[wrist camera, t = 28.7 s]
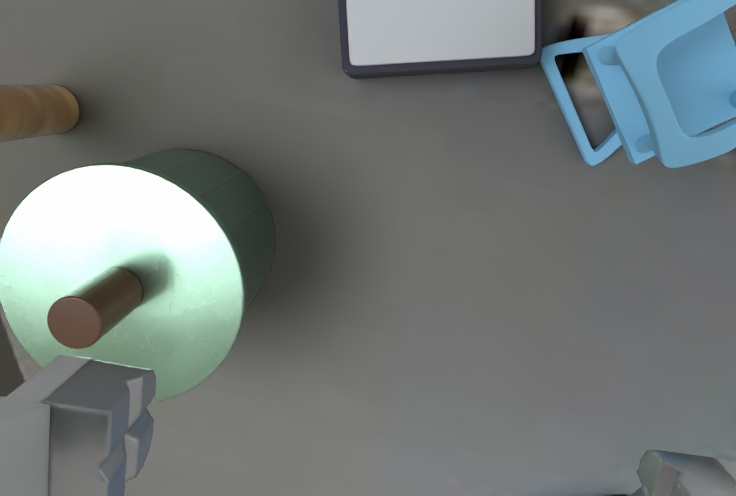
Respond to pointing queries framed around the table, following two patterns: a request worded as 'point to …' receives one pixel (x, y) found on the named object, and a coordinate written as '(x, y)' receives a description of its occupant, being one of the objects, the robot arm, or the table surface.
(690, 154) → the chair
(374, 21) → the calculator
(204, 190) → the tin
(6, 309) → the tin lid
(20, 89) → the stick
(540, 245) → the table surface
